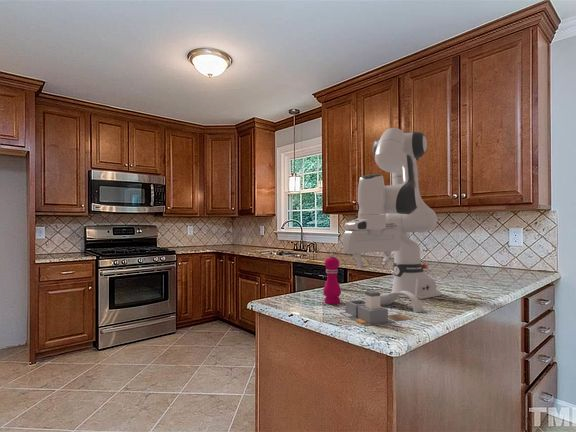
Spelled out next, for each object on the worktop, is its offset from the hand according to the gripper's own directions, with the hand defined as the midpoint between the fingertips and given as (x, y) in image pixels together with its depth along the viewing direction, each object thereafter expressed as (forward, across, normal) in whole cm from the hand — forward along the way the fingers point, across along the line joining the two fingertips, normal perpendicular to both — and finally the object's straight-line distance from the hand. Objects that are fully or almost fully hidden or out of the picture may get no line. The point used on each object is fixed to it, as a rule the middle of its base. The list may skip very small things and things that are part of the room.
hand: (372, 266), depth 114 cm
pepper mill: (+19, -2, -31) cm, 36 cm away
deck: (+18, -10, 0) cm, 21 cm away
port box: (+18, 0, -4) cm, 19 cm away
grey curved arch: (+19, -19, -15) cm, 31 cm away
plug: (+17, 0, 0) cm, 17 cm away
